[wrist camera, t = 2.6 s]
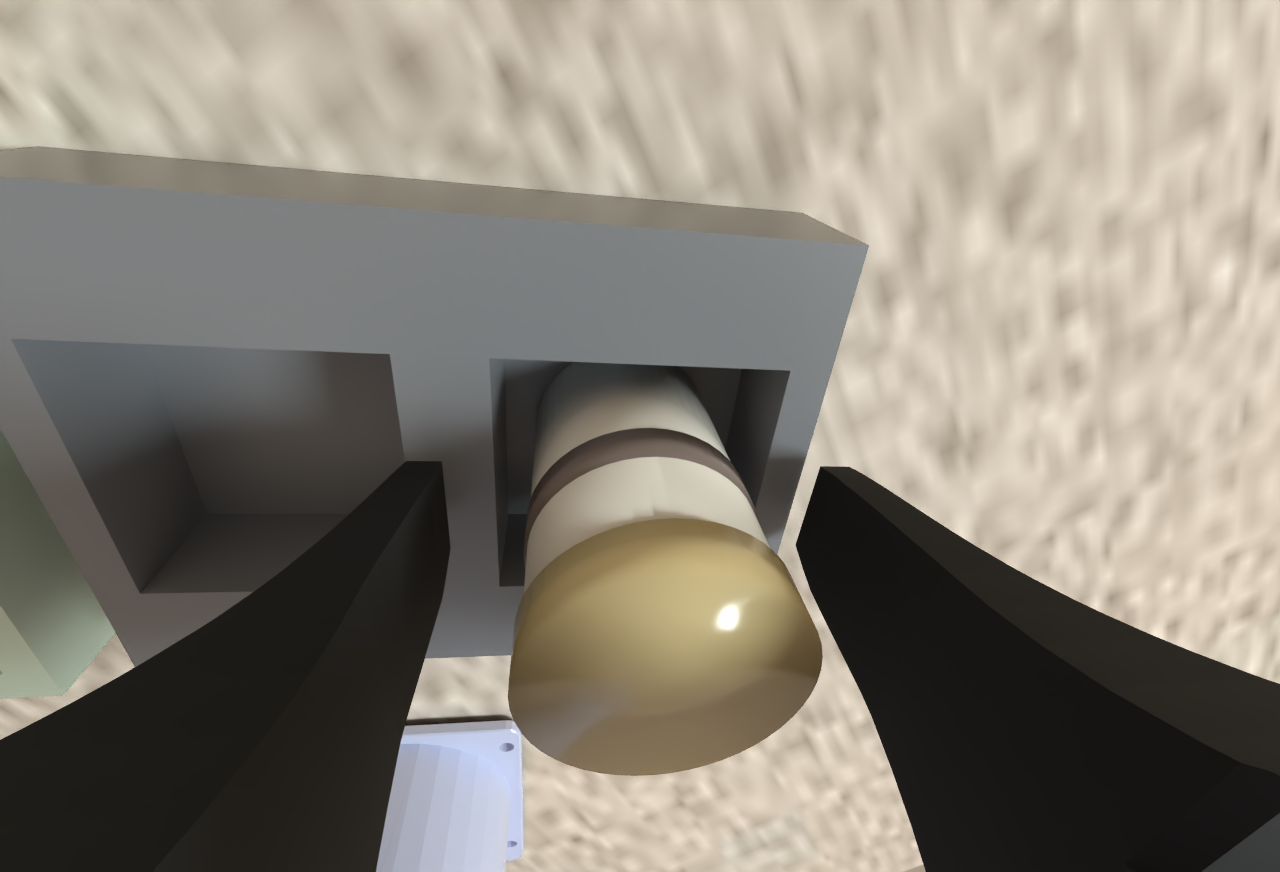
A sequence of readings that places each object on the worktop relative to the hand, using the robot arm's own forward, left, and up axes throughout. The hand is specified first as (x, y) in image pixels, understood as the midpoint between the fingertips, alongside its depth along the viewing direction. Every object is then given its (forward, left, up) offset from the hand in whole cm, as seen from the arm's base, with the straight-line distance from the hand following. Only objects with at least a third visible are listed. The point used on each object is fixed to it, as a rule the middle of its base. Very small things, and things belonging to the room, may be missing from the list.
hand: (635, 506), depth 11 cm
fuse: (0, 0, -3) cm, 3 cm away
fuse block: (0, +4, -4) cm, 5 cm away
